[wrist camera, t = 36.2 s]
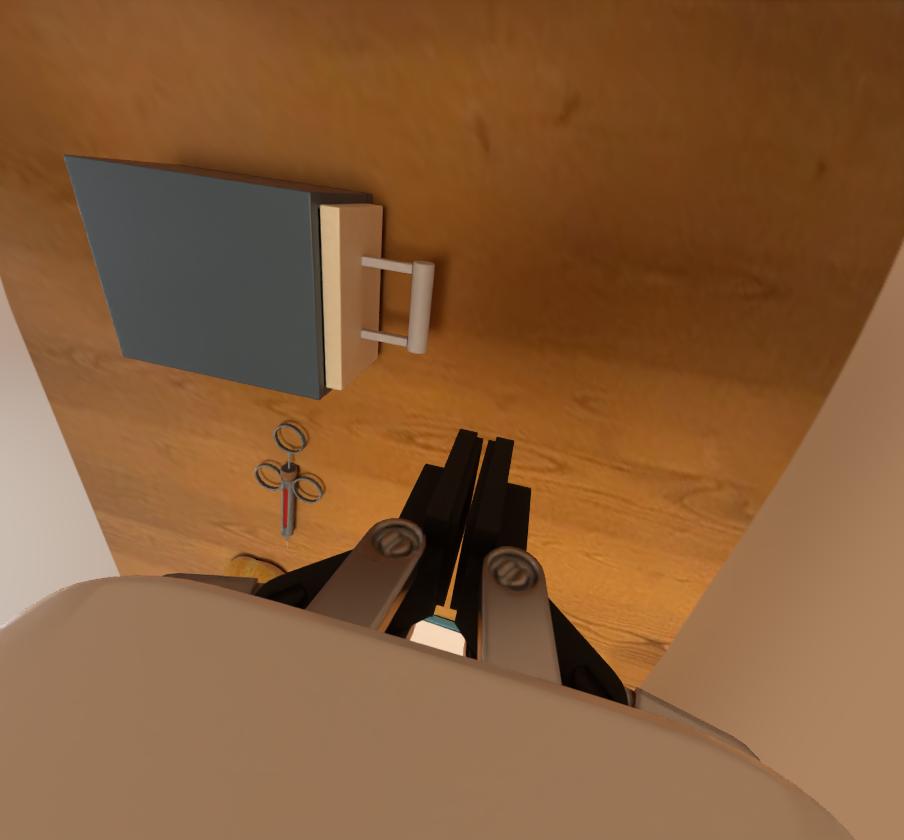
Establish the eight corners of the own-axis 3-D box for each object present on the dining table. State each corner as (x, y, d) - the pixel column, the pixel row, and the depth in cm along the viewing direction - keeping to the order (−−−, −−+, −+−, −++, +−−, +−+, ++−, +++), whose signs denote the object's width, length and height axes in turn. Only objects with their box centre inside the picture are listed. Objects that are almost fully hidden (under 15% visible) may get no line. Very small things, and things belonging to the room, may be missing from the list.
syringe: (261, 534, 50) (252, 544, 48) (259, 409, 41) (248, 417, 39) (320, 554, 49) (313, 565, 48) (331, 433, 40) (322, 441, 39)
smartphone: (411, 614, 49) (533, 656, 48) (414, 605, 50) (533, 646, 49) (404, 649, 53) (516, 689, 51) (407, 640, 54) (517, 680, 52)
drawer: (451, 216, 28) (424, 220, 22) (434, 369, 34) (409, 405, 28) (198, 177, 30) (113, 172, 24) (222, 326, 36) (158, 351, 30)
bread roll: (227, 547, 53) (204, 571, 49) (291, 564, 51) (272, 591, 48) (236, 589, 57) (216, 614, 53) (296, 606, 55) (279, 633, 52)
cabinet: (372, 193, 29) (310, 191, 22) (368, 358, 35) (319, 400, 28) (179, 165, 31) (62, 154, 24) (207, 325, 37) (122, 357, 30)
